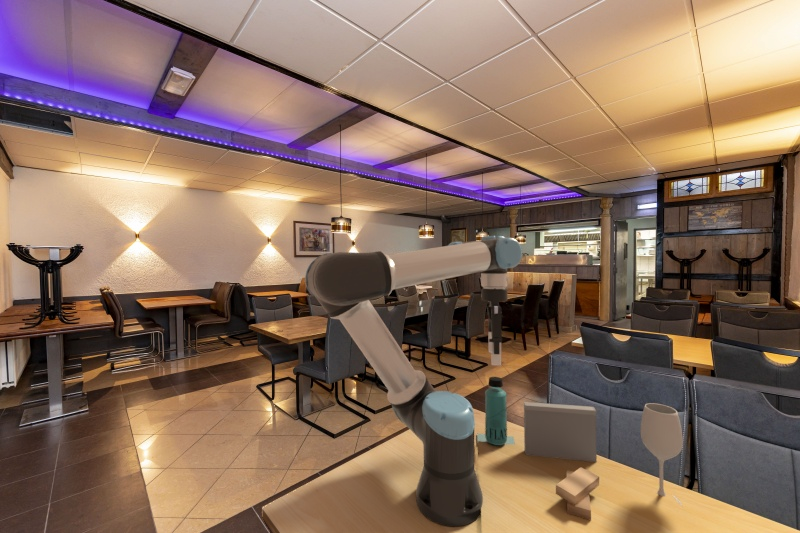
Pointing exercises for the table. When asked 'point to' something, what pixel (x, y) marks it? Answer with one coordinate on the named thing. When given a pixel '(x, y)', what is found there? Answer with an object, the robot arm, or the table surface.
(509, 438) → the mat
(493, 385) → the beverage bottle
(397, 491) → the table surface
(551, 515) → the table surface
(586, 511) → the offcut middle
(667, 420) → the wineglass
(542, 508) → the table surface
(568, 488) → the offcut top
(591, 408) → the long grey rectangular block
